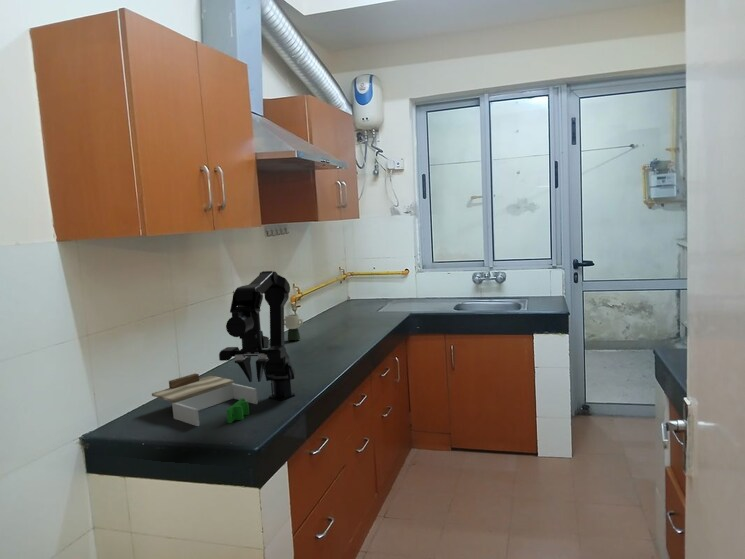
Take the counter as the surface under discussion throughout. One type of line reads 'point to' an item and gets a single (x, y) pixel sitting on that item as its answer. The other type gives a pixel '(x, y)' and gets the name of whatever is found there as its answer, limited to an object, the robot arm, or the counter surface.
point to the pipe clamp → (238, 410)
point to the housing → (211, 401)
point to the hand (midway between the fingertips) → (255, 381)
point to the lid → (190, 387)
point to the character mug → (293, 326)
